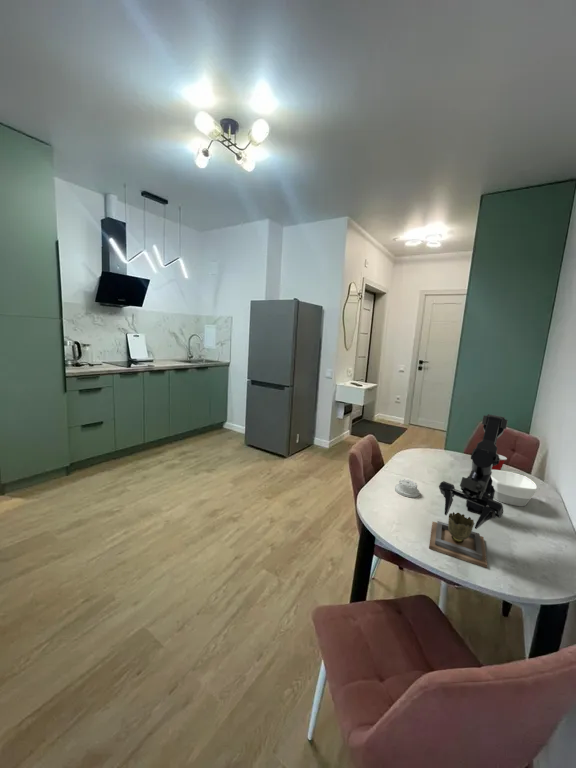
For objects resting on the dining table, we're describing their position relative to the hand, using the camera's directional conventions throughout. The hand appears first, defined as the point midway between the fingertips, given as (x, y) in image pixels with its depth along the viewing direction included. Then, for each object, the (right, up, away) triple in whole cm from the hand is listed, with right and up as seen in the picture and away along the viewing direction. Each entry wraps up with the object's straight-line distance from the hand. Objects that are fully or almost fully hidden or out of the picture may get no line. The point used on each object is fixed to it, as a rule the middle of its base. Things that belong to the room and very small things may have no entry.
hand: (459, 521), depth 107 cm
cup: (0, -8, +3) cm, 8 cm away
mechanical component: (-4, -3, +36) cm, 37 cm away
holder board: (0, -8, +2) cm, 9 cm away
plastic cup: (+46, -3, +60) cm, 75 cm away
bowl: (+40, -6, +38) cm, 56 cm away
